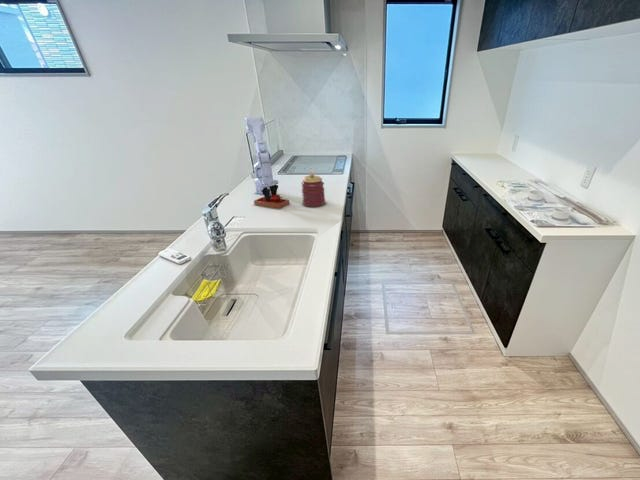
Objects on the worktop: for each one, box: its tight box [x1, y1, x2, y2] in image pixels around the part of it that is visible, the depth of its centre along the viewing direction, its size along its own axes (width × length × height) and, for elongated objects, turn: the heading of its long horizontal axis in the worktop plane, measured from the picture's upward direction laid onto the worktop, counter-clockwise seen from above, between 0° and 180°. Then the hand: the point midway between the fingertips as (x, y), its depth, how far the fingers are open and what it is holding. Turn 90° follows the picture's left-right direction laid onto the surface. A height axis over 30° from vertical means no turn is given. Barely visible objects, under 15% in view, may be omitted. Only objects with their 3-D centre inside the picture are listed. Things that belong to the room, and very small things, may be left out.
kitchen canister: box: [300, 172, 326, 208], centre depth 179 cm, size 13×13×18 cm
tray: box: [253, 196, 290, 210], centre depth 182 cm, size 18×10×2 cm, turn 66°
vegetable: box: [262, 194, 283, 202], centre depth 181 cm, size 4×5×12 cm
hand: (271, 199), depth 181 cm, fingers closed on vegetable, 5 cm apart
